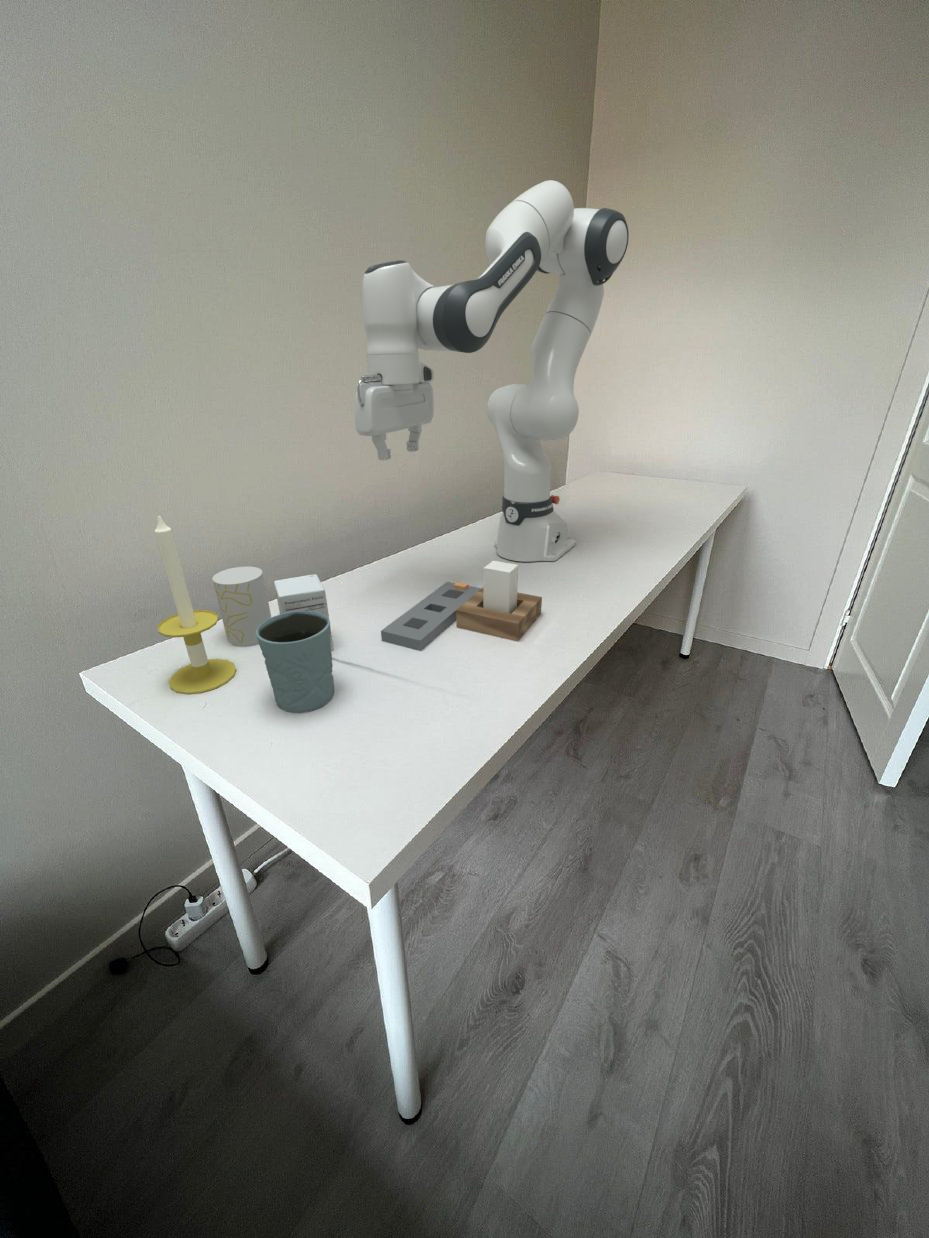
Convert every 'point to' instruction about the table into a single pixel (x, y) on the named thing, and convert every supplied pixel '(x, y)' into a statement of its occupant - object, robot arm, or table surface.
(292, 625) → the teal plant pot
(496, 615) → the square wooden tray
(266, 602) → the cup
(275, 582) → the supplement box
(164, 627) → the candle
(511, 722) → the table surface
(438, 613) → the power strip
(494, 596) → the white rectangular block
